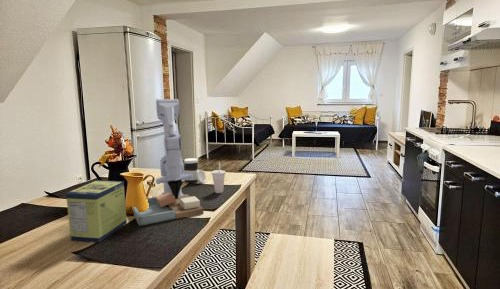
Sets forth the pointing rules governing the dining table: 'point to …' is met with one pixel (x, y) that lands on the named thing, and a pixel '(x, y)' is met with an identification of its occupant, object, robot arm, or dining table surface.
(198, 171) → the spread jar
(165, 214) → the box
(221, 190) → the smoothie
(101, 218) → the protein box
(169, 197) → the terracotta tile
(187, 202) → the cream tile
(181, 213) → the walnut board
